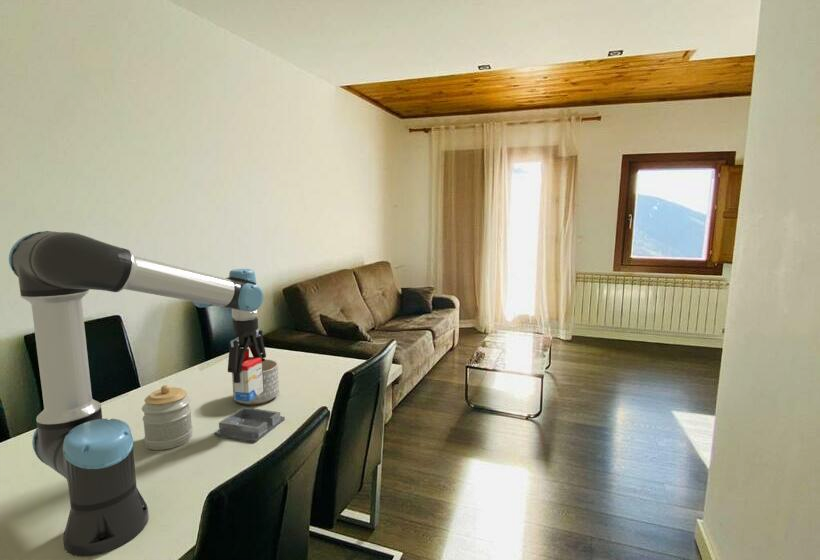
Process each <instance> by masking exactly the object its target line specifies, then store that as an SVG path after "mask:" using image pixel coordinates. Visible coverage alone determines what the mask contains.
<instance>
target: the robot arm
mask: <svg viewBox="0 0 820 560" xmlns="http://www.w3.org/2000/svg"><path fill="white" fill-rule="evenodd" d="M12 245H13V246H12V247H11V249H10V251H9V255H8V263H9V267H10V269H11V270H12V272H13V274H14V275H15V276H16V277H17V278H18V285H19V291H20V298H22V299H23V300H25V301H27V302H28V303H30V304H31V311H32V313H31V314H32V320H33V321H32V322H33V327H34V336H35V338H34V339H35V343H36V345H35V346H36V352H37V353H36V355H37V361H38V368H39V377H40V385H41V392H42V393H41V394H42V400H43V403H42V404H43V410H42V411H41V412H40V413H38V414H37V416H36V429H35V430H34V432H33V436H32V442H31V443H32V444H31V445H32V449H33V452H34V454H35V456H36V457H37V458H38V460H40V462H42V463H43V464H44V465H46V466H48V467H49V468H51V469H53V470H54V471H55V472H57V473H58V474H59V475H61V476H62V477H63V478H64V479H66V481H67V487H68V495H69V496H68V497H69V504H70V510H69V514H68V517H67V521H66V526H65V528H64V532H63V535H62V540H63V541H62V542H63V547H64V550H65V552H66V551H67V552H66V553H68V554H69V553H70V554H69V555H71V554H72V555H73V556H75V555H77V556H76V557H88V556H89V557H90V556H96V555H100V554H103V553H107V552H109V551H112V550H115V549H117V548H119V547H121V546H123V545H125V544H126V543H128V542H130V541H131V540H132V539H134V538H135V537H136V536H138V535H139V534H140V533H141V532H142V531H143V530H144V529H145V527H146V526H147V524H148V521H149V517H150V516H149V507H148V505H147V502H146V501H145V499H144V497H143V496H142V494H141V492H140V491H139V489H138V488H137V479H136V478H137V477H136V476H137V475H136V468H135V467H136V465H135V455H134V454H135V453H134V437H133V434H132V430H131V427H130V425H128V423H127V422H126V421H123V420H121V419H117V418H110V419H108V418H103V411H102V404H101V402H99V401H98V400H95V399H93V395H92V394H93V393H92V383H91V377H90V376H91V375H90V367H89V358H88V356H89V355H88V349H87V348H88V347H87V337H86V328H85V320H84V310H83V301H82V300H83V298H84V297H85V296H86V295H87V294H88V293H89V292H90V290H92V291H93V290H94V291H95V290H97V291H103V292H104V291H105V292H111V293H118V292H119V293H120V292H121V291H123V290H127V291H131V292H132V291H133V292H139V293H143V294H144V293H145V294H149V295H156V296H161V297H166V298H172V299H177V300H183V301H189V302H192V303H193V304H194V306H196V307H197V308H209V307H214V306H216V307H221V308H225V309H231V318H232V330H233V332H234V333H235V338H234V339H232V340H231V339H230V340H228V346H229V347H228V348H229V351H228V361H227V362H228V364H227V372H228V373H231V374H232V373H233V377H234V383H235V392H242V393H243V392H244V381H243V372H241V368H242V364H243V360H244V355H245V352H246V351H247V349H249V352H251V355H252V357H258V358H262V361H263V362H264V361H265V359H266V358H267V354H266V353H267V352H266V348H265V344H264V343H265V342H264V338H263V333H264V332H263V330H261V329H260V330H259V318H258V317H257V316H258V309H260V307H261V306H262V305H263V302H264V292H263V290H262V288H261V287H260V286H259V285H257V280H256V279H257V278H256V272H255V270H254V269H251V268H234V269H232V270H230V271H229V274H228V277H225V278H224V277H221V276H217V275H213V274H209V273H205V272H201V271H196V270H194V269H193V270H192V269H188V268H184V267H180V266H177V265H174V264H173V265H172V264H168V263H165V262H159V261H157V260H152V259H148V258H145V257H140V256H137V255H134V254H133V253H132V251H131V250H130V249H127V248H122V247H119V246H117V245H113V244H110V243H108V242H104V241H101V240H97V239H96V238H93V237H90V236H86V235H84V234H80V233H76V232H69V231H67V232H66V231H63V232H62V231H50V230H44V231H43V230H42V231H37V232H33V233H30V234H27V235H24V236H23V237H21V238H20V239H18V240H17V241H16V242H15V243H14V244H12ZM237 368H238V369H237ZM72 555H71V556H72Z"/></svg>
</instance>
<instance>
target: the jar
mask: <svg viewBox="0 0 820 560" xmlns="http://www.w3.org/2000/svg"><path fill="white" fill-rule="evenodd" d="M187 395H188V392H187V390H185V389H182V388H179V387H175V386H174V387H171V386H170V385H169V384H165V385H162V386H161V387H160V389H156V390H154V391H153V392H151V393H150V394H148V396H146V397H145V399H144V400H143V401H144V404H143V405H142V406H141V411H142V412H143V413H144V414H143V415H144V416H143V417H142V421H143V429H144V430H143V431H144V437H143V438H144V443H145V447H146V448H148V449H150V450H153V451H155V450H156V451H160V450H162V451H163V450H169V449H174V448H177V447H179V446H181V445H183V444H185V443H186V442H188V441H190V439H191V438H192V437H193V432H194V431H193V430H194V429H193V425H192V408H191V406H190V402H191V398H190V397H189V396H187Z"/></svg>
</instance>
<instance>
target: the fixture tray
mask: <svg viewBox="0 0 820 560" xmlns="http://www.w3.org/2000/svg"><path fill="white" fill-rule="evenodd" d="M285 417H286V416H281V412H279V411H275V410H269V409H267V410H266V409H260V408H253V407H247V406H246V407H245V406H242V407H241V408H240V409H237V410H236V411H235V412H233V413H231V415H228V416H227V417H226V418H224V419H222V420H221V421H219V422H218V430H216V431H215V432H214V433H213V434H214V435H213V436H214V437H220V438H226V439H231V440H235V441H236V440H237V441H243V442H249V443H254V444H255V443H257V442H259V440H261V439H262V438H264V436H266V435H267V434H268V433H270V432H271V431H273V430H274V429H275V428H276V427H277V426H279V425H280V424H281V423H283V422H284V421H285V419H286V418H285Z"/></svg>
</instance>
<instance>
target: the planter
mask: <svg viewBox="0 0 820 560" xmlns="http://www.w3.org/2000/svg"><path fill="white" fill-rule="evenodd" d="M231 376H232V378H231V379H232V380H231V381H232V393H233V394H232V395H233V400H234V401H235V402H237V403H239V404H242V405H247V406H251V405H252V406H253V405H262V404H265V403H268V402H270V401H272V400H273V399H274V398H276V397H277V396H278V395H279V393H280V386H279V385H280V383H279V382H280V381H279V363H278V361H275V360H273V359H266V358H265V361H264V362H263V361H262V379H263V392H262V393H260V394H259V395H258V396H256V397H255V398H253V399H252V400H251V401H238V400H236V393H235V383H234V377H233V373H231Z"/></svg>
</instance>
